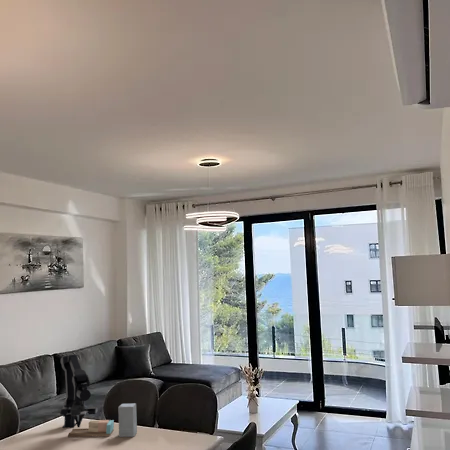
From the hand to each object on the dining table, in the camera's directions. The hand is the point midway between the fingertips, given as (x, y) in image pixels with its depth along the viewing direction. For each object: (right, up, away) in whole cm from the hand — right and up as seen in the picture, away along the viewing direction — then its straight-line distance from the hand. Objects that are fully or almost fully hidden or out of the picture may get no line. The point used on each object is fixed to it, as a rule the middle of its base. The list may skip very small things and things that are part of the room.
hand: (78, 427), depth 248 cm
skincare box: (+27, -3, -3) cm, 27 cm away
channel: (+7, -3, 0) cm, 8 cm away
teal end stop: (+17, -2, 0) cm, 17 cm away
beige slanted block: (+8, -2, 0) cm, 9 cm away
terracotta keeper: (+13, -2, 0) cm, 14 cm away
